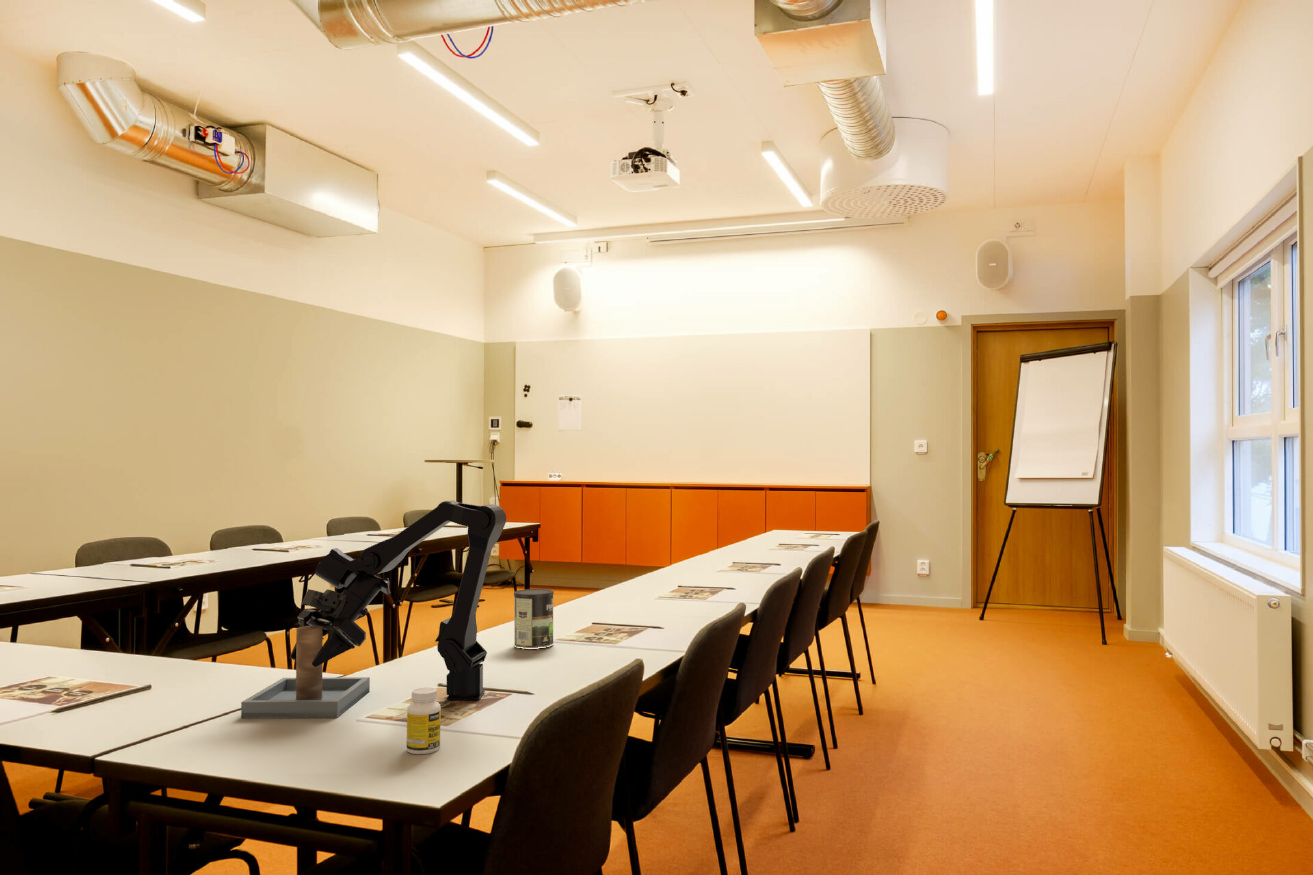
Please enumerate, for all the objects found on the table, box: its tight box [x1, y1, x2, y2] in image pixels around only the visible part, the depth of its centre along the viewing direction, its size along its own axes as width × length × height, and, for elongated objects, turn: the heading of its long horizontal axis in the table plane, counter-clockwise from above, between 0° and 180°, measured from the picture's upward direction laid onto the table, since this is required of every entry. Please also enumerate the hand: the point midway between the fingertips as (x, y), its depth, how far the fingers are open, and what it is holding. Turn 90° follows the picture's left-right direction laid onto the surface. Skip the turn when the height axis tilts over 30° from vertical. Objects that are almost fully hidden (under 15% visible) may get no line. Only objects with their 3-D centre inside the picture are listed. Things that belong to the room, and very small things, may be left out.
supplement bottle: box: [406, 687, 442, 755], centre depth 141 cm, size 5×5×10 cm
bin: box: [240, 676, 371, 719], centre depth 168 cm, size 18×18×3 cm
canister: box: [295, 626, 324, 700], centre depth 168 cm, size 5×5×14 cm
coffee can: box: [513, 588, 555, 648], centre depth 221 cm, size 10×10×14 cm
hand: (302, 661), depth 167 cm, fingers open, 9 cm apart
